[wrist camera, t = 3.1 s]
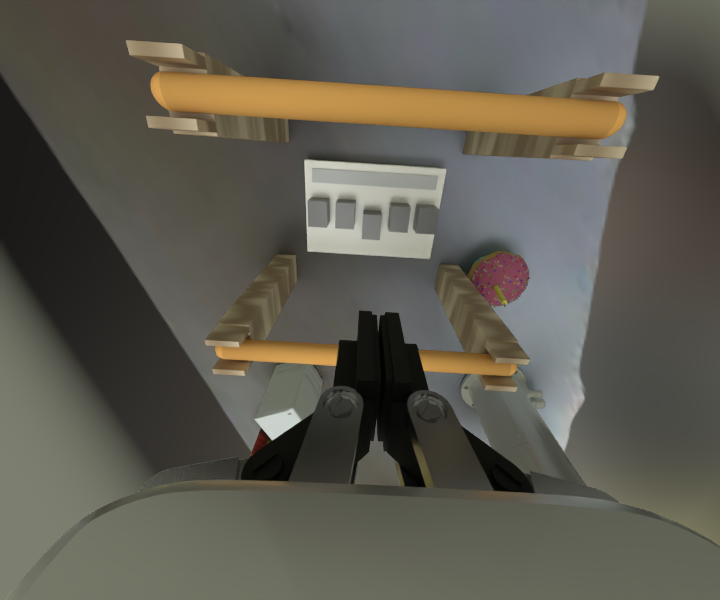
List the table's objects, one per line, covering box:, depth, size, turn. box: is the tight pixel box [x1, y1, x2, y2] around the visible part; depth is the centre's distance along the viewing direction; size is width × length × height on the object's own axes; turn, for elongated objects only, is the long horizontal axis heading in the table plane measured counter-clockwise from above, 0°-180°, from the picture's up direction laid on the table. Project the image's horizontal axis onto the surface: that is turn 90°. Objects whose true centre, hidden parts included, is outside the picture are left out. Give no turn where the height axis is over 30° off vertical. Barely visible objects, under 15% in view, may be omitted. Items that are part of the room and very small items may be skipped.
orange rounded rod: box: [151, 71, 627, 139], centre depth 17 cm, size 29×2×2 cm, turn 87°
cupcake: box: [467, 251, 530, 307], centre depth 39 cm, size 9×8×12 cm
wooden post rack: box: [126, 40, 659, 392], centre depth 31 cm, size 29×24×22 cm
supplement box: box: [255, 363, 323, 440], centre depth 51 cm, size 7×7×13 cm
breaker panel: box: [304, 159, 447, 259], centre depth 38 cm, size 18×12×6 cm, turn 87°
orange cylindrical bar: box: [215, 339, 517, 376], centre depth 27 cm, size 29×2×2 cm, turn 87°
